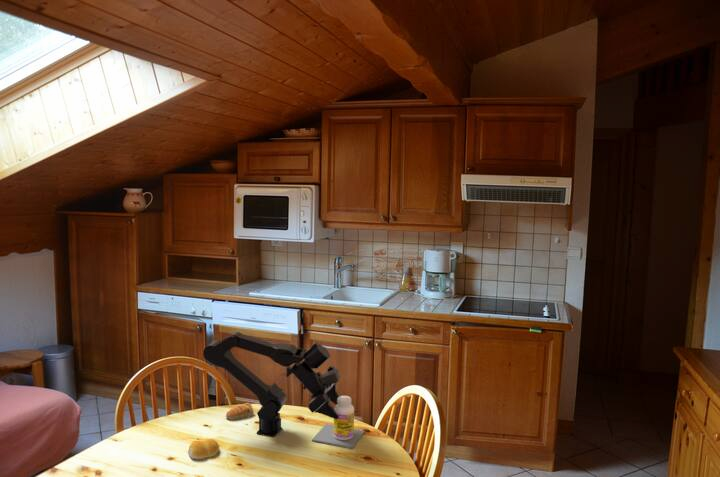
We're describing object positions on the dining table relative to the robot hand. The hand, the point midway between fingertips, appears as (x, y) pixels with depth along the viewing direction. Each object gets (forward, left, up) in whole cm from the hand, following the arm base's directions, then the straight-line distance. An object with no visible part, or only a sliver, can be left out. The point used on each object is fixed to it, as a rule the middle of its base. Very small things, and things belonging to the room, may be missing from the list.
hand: (340, 412), depth 170 cm
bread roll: (-36, -24, -9) cm, 44 cm away
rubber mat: (-1, 0, -9) cm, 9 cm away
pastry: (-39, +3, -9) cm, 40 cm away
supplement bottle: (+1, 0, -8) cm, 8 cm away
